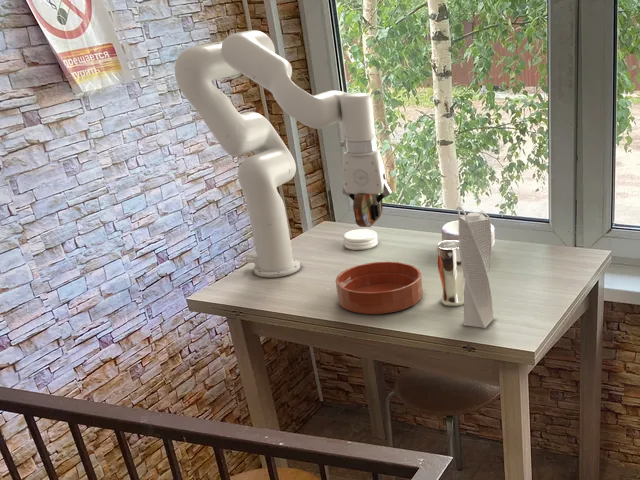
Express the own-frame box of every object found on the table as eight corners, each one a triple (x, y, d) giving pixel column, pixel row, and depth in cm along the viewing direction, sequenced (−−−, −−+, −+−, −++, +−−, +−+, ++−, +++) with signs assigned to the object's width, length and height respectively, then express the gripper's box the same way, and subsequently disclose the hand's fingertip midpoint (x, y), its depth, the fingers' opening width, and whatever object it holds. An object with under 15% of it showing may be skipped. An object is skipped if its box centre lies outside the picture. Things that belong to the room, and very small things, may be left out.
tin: (365, 231, 198) (362, 198, 194) (353, 231, 198) (349, 198, 194) (384, 213, 211) (381, 182, 206) (373, 213, 211) (370, 181, 207)
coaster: (350, 239, 243) (349, 228, 241) (382, 239, 241) (380, 228, 239) (340, 250, 234) (338, 238, 232) (372, 251, 233) (371, 239, 231)
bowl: (325, 312, 194) (322, 290, 192) (357, 280, 212) (354, 259, 210) (407, 318, 191) (405, 295, 188) (432, 285, 209) (431, 263, 206)
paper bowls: (505, 249, 231) (504, 223, 228) (475, 265, 220) (474, 238, 216) (462, 241, 239) (461, 215, 235) (432, 256, 228) (430, 229, 224)
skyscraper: (456, 326, 186) (449, 210, 172) (469, 313, 192) (463, 200, 178) (487, 330, 184) (482, 213, 170) (499, 318, 190) (495, 203, 176)
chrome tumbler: (457, 309, 195) (453, 251, 187) (434, 303, 198) (430, 246, 191) (473, 299, 200) (470, 242, 192) (450, 294, 203) (447, 238, 196)
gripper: (324, 149, 193) (335, 222, 202) (388, 150, 190) (395, 224, 199) (336, 142, 199) (345, 213, 208) (397, 143, 197) (404, 215, 206)
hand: (369, 218), depth 204 cm, fingers closed on tin, 2 cm apart
